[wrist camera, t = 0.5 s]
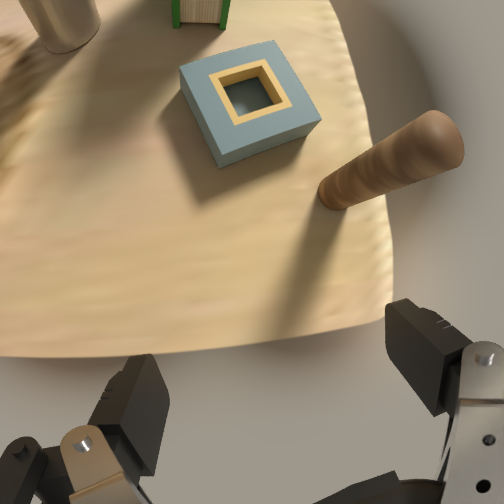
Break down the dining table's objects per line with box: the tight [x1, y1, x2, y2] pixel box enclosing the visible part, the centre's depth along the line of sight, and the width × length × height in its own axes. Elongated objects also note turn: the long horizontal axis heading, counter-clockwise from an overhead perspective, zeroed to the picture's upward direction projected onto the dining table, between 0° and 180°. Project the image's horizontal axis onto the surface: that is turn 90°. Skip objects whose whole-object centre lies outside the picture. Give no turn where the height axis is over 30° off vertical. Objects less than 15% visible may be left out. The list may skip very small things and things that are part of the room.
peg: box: [318, 110, 464, 211], centre depth 28 cm, size 4×4×20 cm
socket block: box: [179, 40, 322, 169], centre depth 34 cm, size 12×12×5 cm
